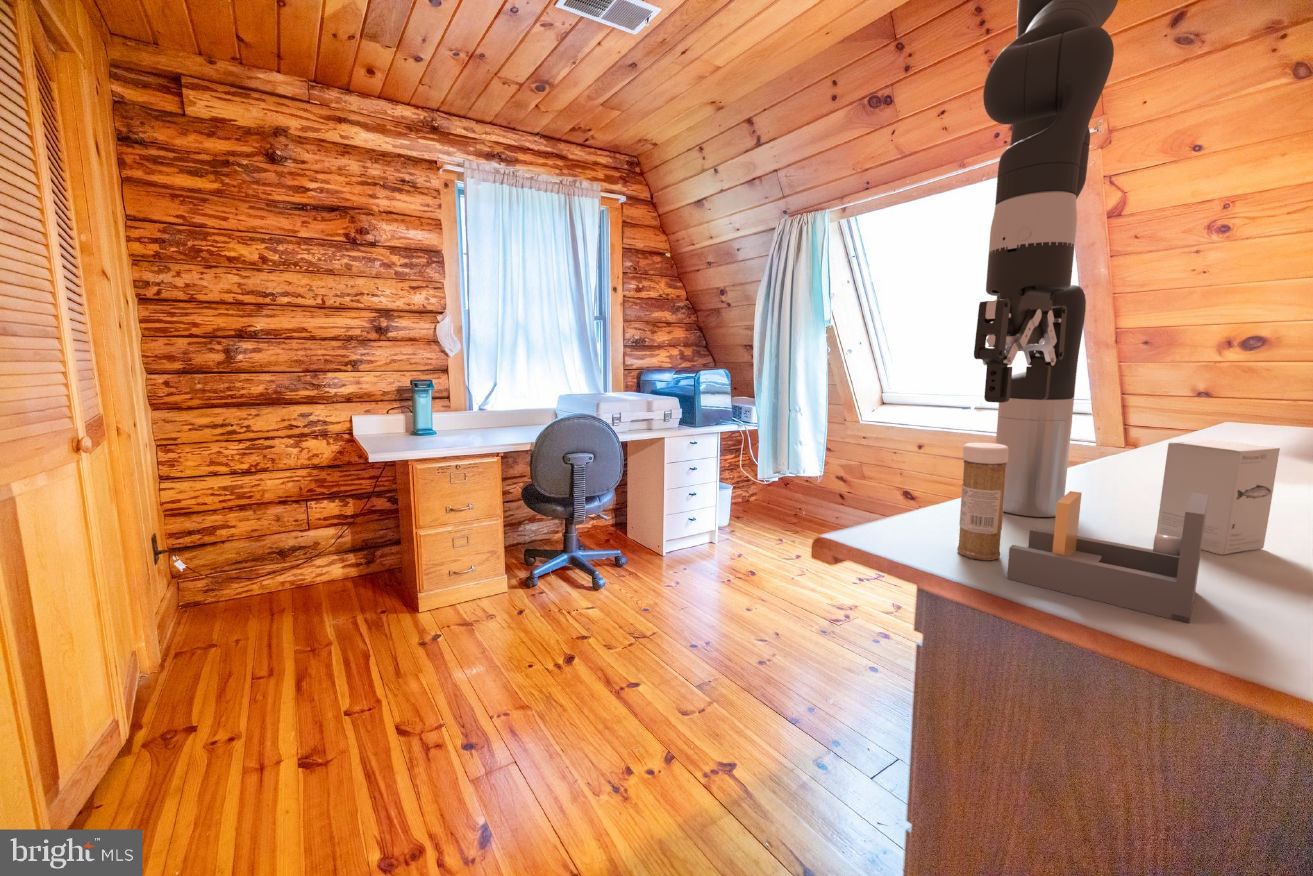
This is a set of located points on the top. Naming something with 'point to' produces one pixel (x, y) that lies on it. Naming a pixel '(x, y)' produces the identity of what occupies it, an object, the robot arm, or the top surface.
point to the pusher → (1069, 528)
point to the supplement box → (1220, 492)
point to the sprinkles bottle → (982, 500)
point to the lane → (1121, 568)
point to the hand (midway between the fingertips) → (1016, 400)
